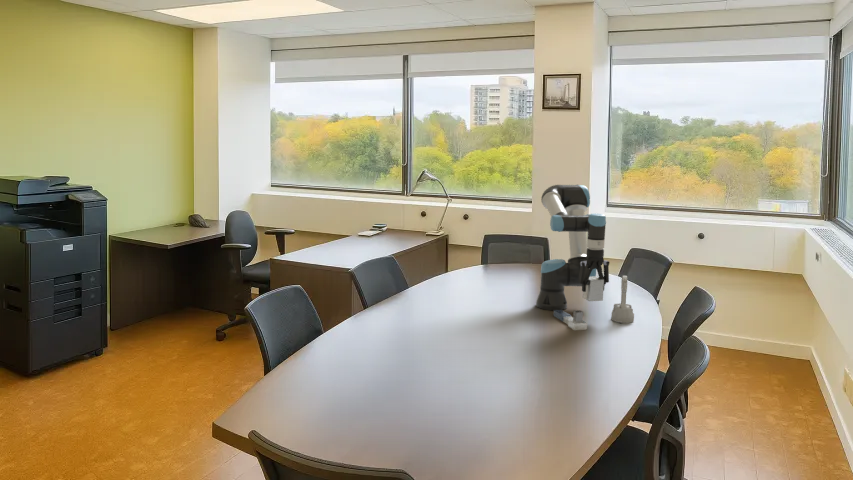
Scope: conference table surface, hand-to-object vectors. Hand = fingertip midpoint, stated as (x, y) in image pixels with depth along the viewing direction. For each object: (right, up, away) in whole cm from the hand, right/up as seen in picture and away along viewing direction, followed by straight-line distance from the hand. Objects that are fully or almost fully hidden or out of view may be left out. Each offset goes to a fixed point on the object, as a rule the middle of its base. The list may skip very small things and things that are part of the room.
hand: (592, 297), depth 299 cm
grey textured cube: (0, -1, 0) cm, 1 cm away
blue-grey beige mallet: (-11, -11, 0) cm, 16 cm away
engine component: (+15, -11, +6) cm, 19 cm away
